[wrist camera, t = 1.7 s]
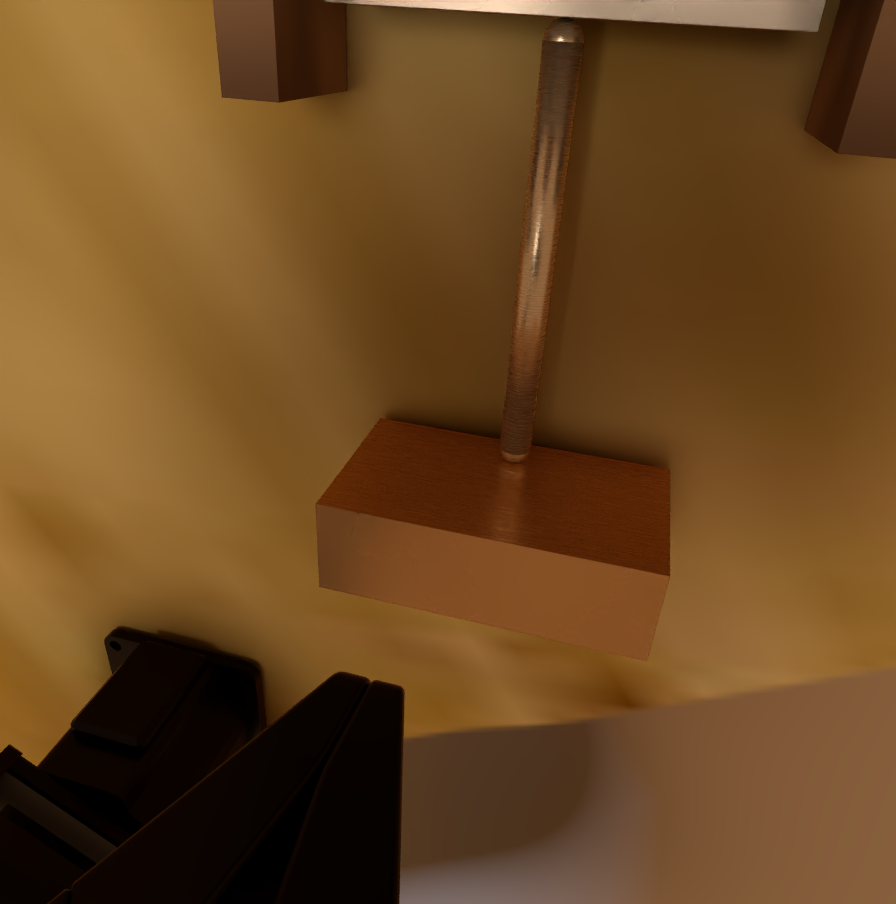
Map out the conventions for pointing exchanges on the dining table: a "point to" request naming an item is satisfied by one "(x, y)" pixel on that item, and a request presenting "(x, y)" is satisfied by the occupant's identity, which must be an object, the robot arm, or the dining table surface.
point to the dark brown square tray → (325, 71)
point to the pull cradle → (523, 424)
